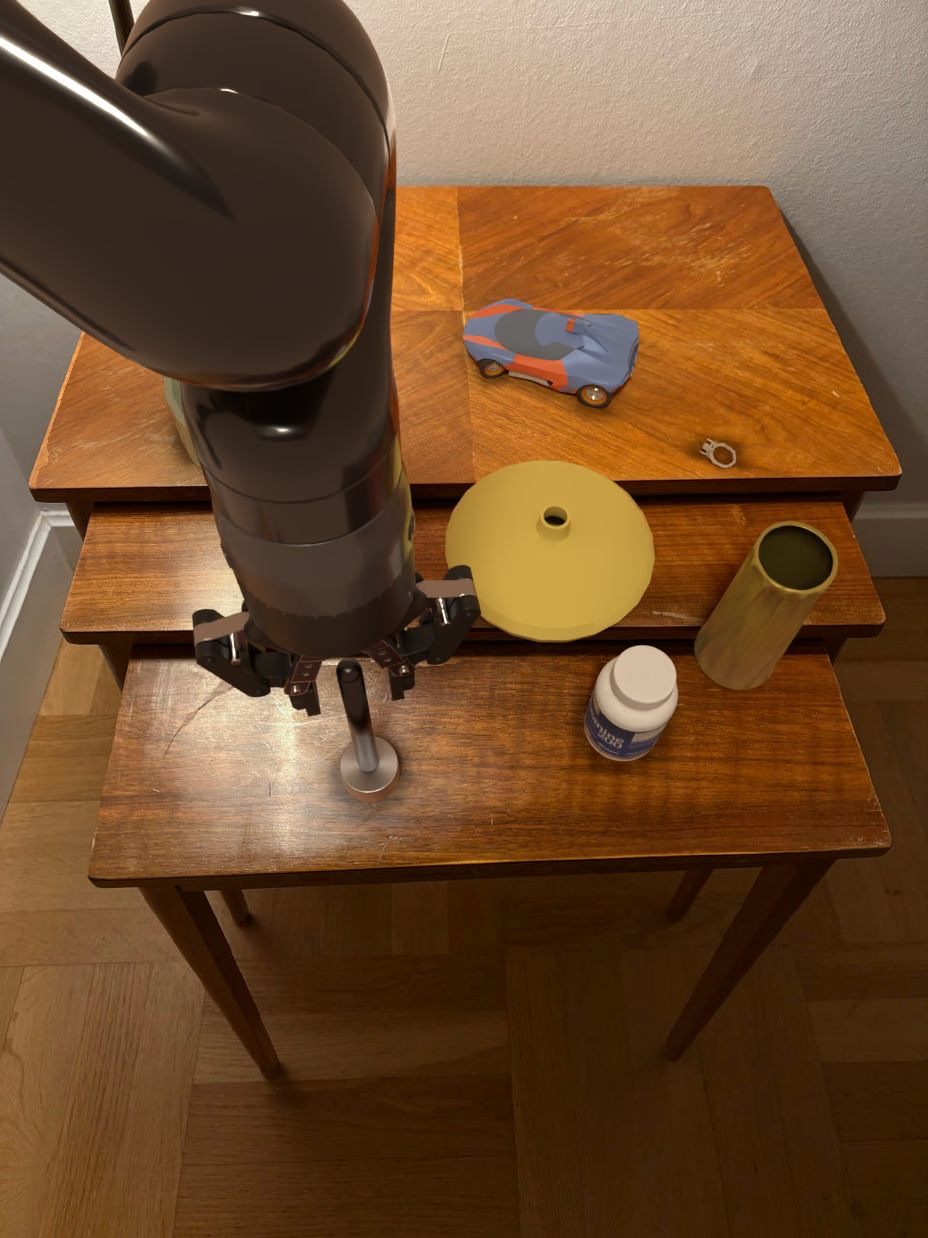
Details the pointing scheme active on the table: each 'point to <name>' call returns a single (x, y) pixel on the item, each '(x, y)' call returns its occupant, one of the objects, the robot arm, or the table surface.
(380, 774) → the rod with round foot
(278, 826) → the table surface
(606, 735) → the pill bottle
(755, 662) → the vase
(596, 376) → the toy car
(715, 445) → the ring
